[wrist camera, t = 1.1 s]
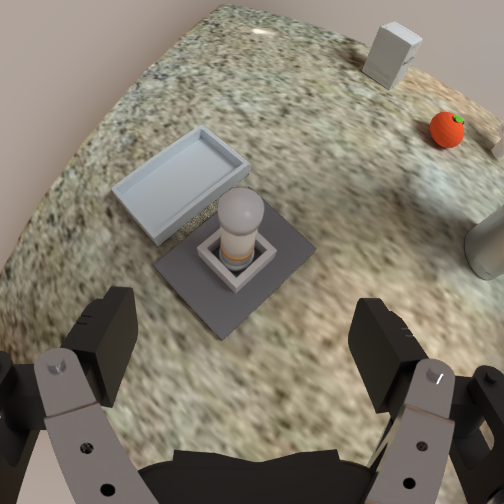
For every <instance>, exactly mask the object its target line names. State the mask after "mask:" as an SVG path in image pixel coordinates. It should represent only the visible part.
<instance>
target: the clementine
mask: <svg viewBox="0 0 504 504" xmlns="http://www.w3.org/2000/svg"><path fill="white" fill-rule="evenodd" d="M461 122H463V124H464V121H463V119H462V118H461V117H459V116H456V115H454V114H452V113H449V112H441V113H438V114H436V115H435V116H434V117H433V118H432V121H431V123H430V132H431V136H432V138H433V139H434V141H435V142H436V143H437V144H439V145H440V146H442V147H445V148H453V147H455V146H457V145H459V144H460V142H461V141H462V139H463V136H464V128H463V124H462V123H461Z"/></svg>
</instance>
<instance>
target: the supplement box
mask: <svg viewBox="0 0 504 504" xmlns="http://www.w3.org/2000/svg"><path fill="white" fill-rule="evenodd" d="M422 41H423V39H422V38H421V37H419V36H418V35H416V34H415V33H413V32H412V31H410V30H408V29H407V28H405V27H403V26H402V25H400V24H398V23H397V22H395V21H393V22H391V23H388V24H385V25H382V26H380V28H379V30H378V32H377V35H376V38H375V40H374V43H373V45H372V47H371V50H370V52H369V55H368V57H367V60H366V62H365V64H364V67H363V69H362V72H364V73H365V74H367V75H368V76H369V77H371V78H372V79H374V80H375V81H377V82H378V83H380V84H381V85H382V86H384V87H385V88H387V89H388V90H390V89H391V88H392V87H393V86H394V85H396V84H397V83H399V82H400V81H402V80H403V78H404V76H405V74H406V72H407V70H408V68H409V67H410V65H411V63H412V61H413V59H414V57H415V55H416V53H417V51H418V49H419V47H420V45H421V43H422Z"/></svg>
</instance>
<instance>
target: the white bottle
mask: <svg viewBox="0 0 504 504" xmlns="http://www.w3.org/2000/svg"><path fill="white" fill-rule="evenodd" d="M263 214H264V203H263V201H262V199H261V197H260V196H259V195H258V194H257V193H256V192H254V191H252V190H250V189H247V188H234V189H231V190H229V191H227V192H225V193H224V194H223V195H222V196H221V198H220V200H219V202H218V220H219V223H220V229H221V240H220V250H219V256H220V262H221V263H222V264H223V265H224V266H225V267H226V268H227V269H228V270H229V271H230V272H234V273H239V272H243V271H245V270H246V269H247V268H248V267H249V266H250V265H251V264H252V261H253V257H254V246H255V240H256V235H257V230H258V228H259V226H260V225H261V222H262V218H263Z"/></svg>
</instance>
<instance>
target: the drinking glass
mask: <svg viewBox="0 0 504 504" xmlns="http://www.w3.org/2000/svg"><path fill="white" fill-rule="evenodd" d="M498 132H499V135H500V137H501V140H500V141H499V142H498V143H497V144H496V145H495V146H494V147H493V148H492V154H493V155H494V157H495V158H496V159H498V160H501V159H502V158H503V157H504V123H503V124H502V125H501V126H500V127H499V129H498Z"/></svg>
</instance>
